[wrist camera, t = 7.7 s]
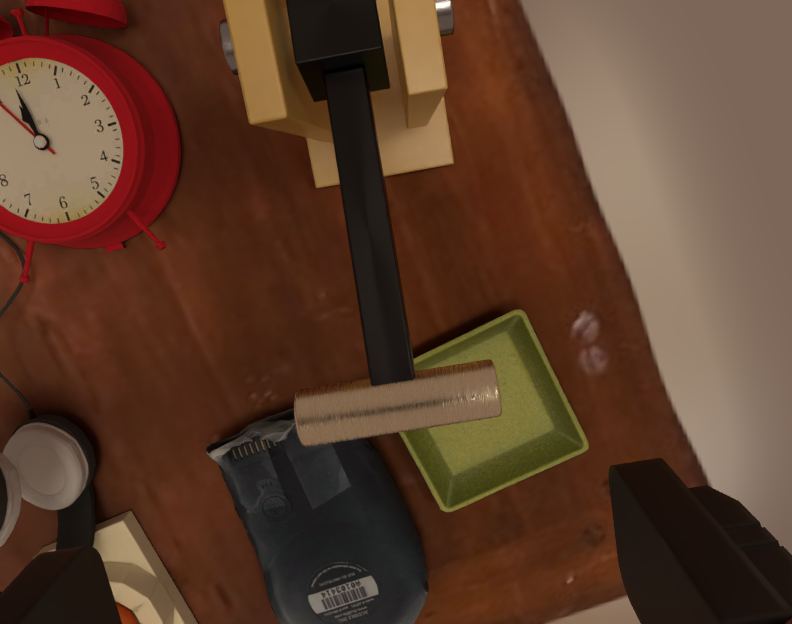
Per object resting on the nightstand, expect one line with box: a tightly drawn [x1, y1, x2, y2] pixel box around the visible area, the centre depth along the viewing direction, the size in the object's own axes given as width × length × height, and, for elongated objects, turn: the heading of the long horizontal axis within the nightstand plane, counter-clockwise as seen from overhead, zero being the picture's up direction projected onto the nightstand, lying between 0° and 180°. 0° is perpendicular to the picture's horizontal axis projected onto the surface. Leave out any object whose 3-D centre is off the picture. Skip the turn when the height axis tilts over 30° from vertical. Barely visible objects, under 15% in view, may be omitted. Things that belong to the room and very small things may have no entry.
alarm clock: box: [0, 0, 181, 283], centre depth 31 cm, size 10×6×15 cm
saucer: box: [399, 309, 588, 512], centre depth 36 cm, size 9×9×2 cm
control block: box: [33, 511, 198, 624], centre depth 38 cm, size 10×6×3 cm, turn 24°
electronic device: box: [206, 408, 429, 624], centre depth 37 cm, size 9×6×15 cm
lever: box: [286, 0, 502, 447], centre depth 17 cm, size 12×5×2 cm, turn 10°
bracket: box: [219, 0, 454, 188], centre depth 25 cm, size 8×7×18 cm
